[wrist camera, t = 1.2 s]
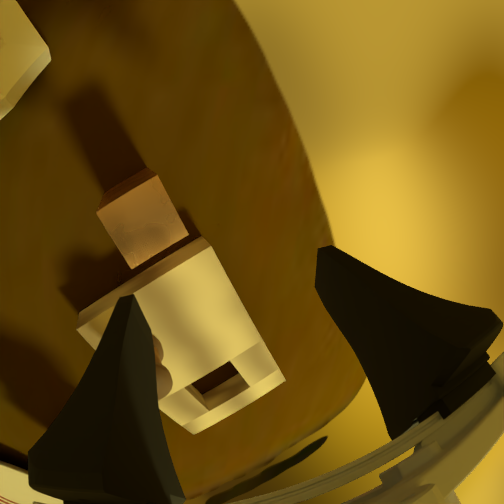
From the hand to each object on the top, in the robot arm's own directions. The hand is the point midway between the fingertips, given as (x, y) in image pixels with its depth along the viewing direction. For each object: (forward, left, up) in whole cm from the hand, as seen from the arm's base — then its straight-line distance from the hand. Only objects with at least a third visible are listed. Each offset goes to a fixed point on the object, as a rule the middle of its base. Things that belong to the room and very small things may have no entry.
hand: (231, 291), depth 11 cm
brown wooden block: (-2, +3, -12) cm, 13 cm away
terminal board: (-5, -11, -12) cm, 17 cm away
